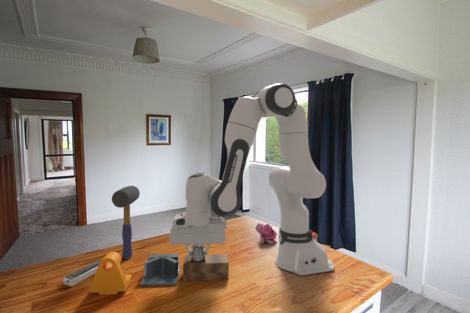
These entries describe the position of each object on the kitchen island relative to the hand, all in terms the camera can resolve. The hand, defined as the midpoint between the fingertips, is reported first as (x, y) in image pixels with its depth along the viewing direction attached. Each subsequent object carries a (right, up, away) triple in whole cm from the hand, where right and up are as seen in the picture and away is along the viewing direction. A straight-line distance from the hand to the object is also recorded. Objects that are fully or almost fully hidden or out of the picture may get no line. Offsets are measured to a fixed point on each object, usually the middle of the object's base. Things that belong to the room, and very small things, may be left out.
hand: (197, 254), depth 94 cm
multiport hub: (-41, -8, +1) cm, 42 cm away
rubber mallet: (-31, -7, +14) cm, 35 cm away
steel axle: (0, -8, 0) cm, 8 cm away
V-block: (-13, -8, -1) cm, 15 cm away
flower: (+29, -6, +36) cm, 46 cm away
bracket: (-27, -8, -8) cm, 30 cm away
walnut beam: (+3, -8, +1) cm, 8 cm away
